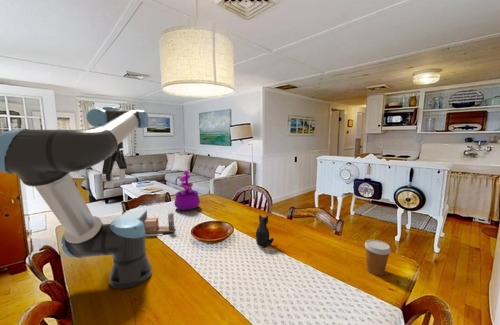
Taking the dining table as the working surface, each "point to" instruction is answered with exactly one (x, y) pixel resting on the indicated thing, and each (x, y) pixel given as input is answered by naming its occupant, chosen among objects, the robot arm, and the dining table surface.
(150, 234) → the mat
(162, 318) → the dining table surface
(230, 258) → the dining table surface
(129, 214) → the tunnel
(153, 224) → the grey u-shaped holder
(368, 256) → the disposable coffee cup
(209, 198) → the dining table surface
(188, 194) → the decorative plant
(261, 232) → the figurine
